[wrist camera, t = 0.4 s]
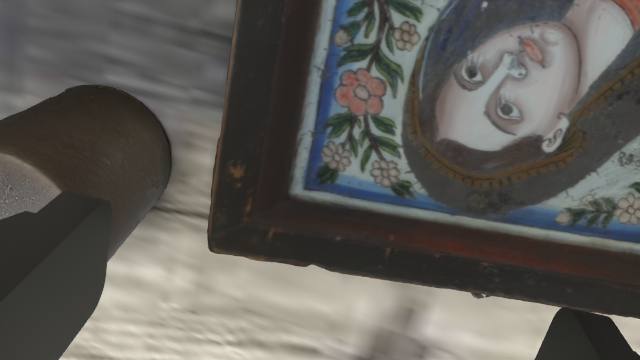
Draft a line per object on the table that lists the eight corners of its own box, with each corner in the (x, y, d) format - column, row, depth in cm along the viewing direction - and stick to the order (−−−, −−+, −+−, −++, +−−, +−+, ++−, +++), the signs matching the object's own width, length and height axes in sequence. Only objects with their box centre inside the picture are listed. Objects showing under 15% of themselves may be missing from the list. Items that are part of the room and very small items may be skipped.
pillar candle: (60, 57, 38) (-111, 111, 24) (197, 129, 39) (110, 221, 25) (14, 180, 41) (-162, 292, 27) (141, 243, 42) (36, 382, 28)
